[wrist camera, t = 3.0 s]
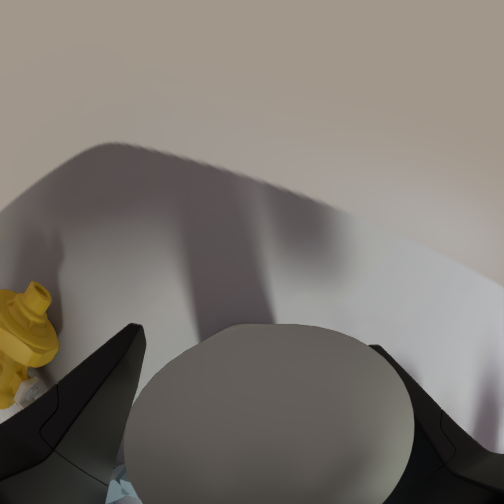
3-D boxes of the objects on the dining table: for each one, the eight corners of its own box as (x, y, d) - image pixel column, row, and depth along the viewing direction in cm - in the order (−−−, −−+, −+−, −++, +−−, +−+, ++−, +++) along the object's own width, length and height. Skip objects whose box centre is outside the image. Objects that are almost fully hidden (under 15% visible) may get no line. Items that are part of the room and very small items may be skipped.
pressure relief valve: (-11, 364, 12) (39, 266, 15) (103, 472, 13) (172, 387, 15) (-53, 376, 7) (-7, 254, 9) (84, 514, 8) (164, 424, 10)
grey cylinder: (300, 364, 15) (448, 440, 3) (240, 413, 14) (259, 577, 2) (249, 307, 15) (298, 255, 4) (188, 356, 14) (70, 434, 3)
